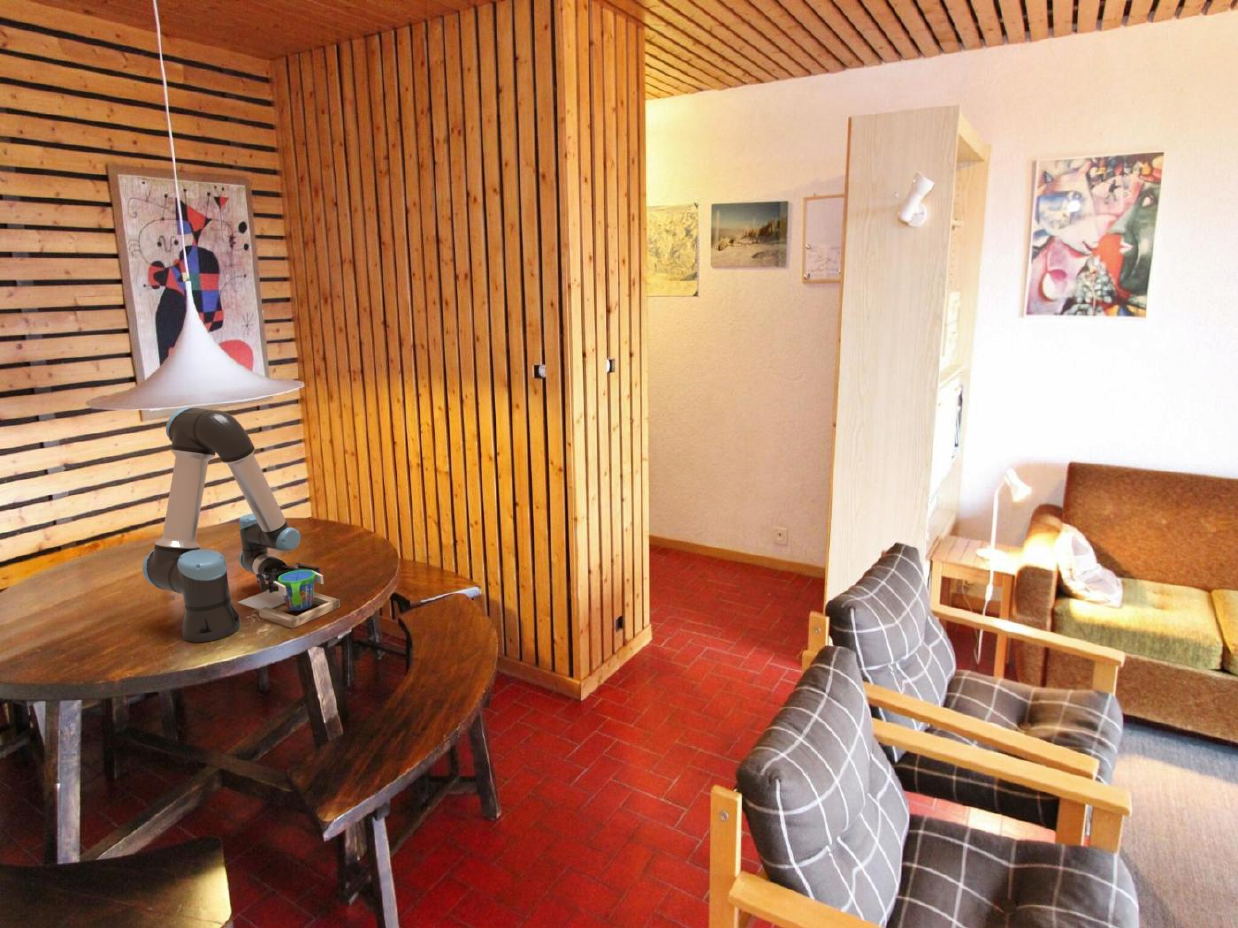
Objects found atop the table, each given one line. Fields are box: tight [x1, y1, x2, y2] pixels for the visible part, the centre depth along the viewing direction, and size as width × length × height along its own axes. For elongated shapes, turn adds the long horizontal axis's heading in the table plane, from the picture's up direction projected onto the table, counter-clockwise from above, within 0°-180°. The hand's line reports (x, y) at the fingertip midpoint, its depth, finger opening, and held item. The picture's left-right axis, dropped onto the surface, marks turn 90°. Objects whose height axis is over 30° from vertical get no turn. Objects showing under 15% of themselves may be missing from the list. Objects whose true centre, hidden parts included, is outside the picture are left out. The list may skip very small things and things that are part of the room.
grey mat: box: [237, 589, 285, 611], centre depth 240 cm, size 13×13×1 cm
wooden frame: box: [258, 591, 341, 629], centre depth 230 cm, size 17×16×2 cm
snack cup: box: [278, 570, 316, 612], centre depth 229 cm, size 16×10×10 cm
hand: (304, 585), depth 226 cm, fingers closed on snack cup, 11 cm apart
